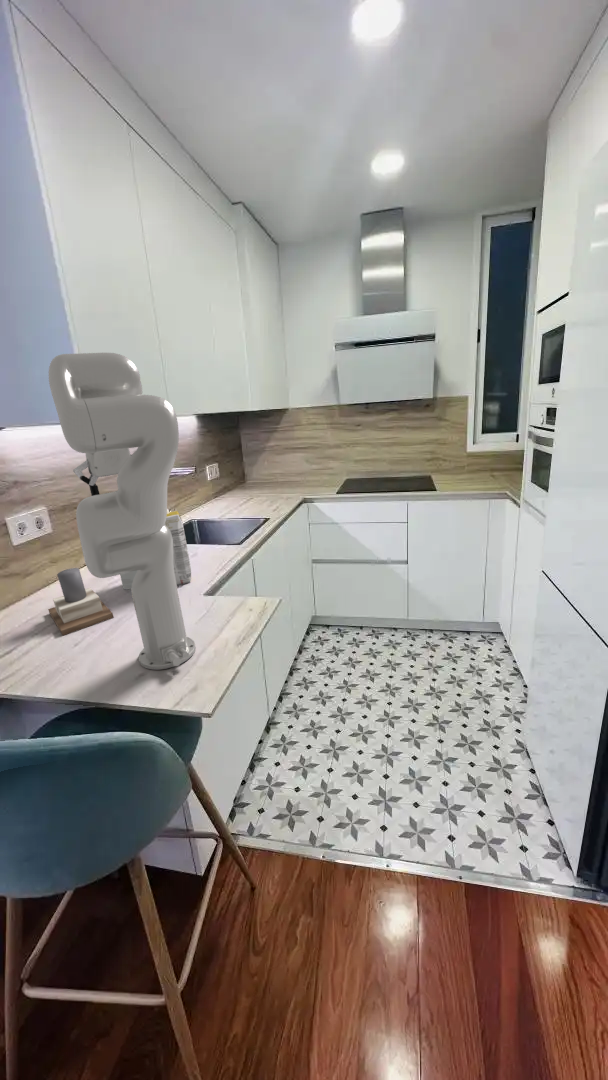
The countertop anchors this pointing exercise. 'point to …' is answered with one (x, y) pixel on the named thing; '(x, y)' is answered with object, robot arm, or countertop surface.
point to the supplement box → (128, 579)
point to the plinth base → (81, 620)
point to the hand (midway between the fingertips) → (117, 496)
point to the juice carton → (179, 548)
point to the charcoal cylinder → (72, 585)
